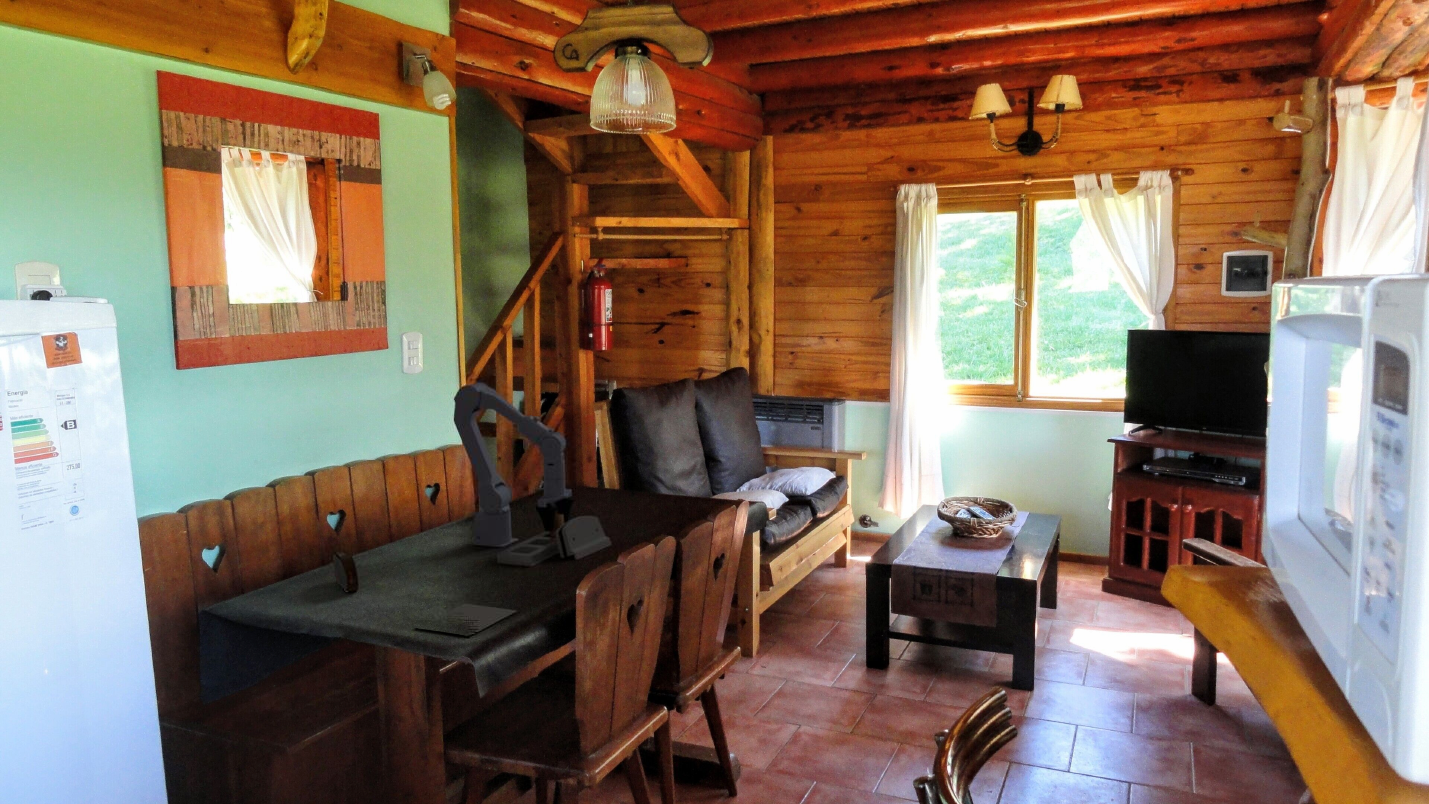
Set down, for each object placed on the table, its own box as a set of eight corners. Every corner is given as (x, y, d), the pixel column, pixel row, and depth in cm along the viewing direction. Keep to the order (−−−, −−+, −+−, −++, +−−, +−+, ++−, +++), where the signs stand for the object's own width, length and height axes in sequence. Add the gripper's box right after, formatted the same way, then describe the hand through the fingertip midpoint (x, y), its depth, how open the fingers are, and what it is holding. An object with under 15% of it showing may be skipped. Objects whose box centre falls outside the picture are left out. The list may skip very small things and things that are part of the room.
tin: (360, 594, 225) (358, 558, 224) (346, 596, 223) (343, 560, 222) (346, 578, 237) (343, 544, 236) (332, 581, 236) (330, 546, 235)
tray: (497, 563, 248) (496, 553, 247) (550, 537, 272) (550, 529, 271) (531, 566, 244) (531, 556, 244) (582, 540, 268) (582, 531, 268)
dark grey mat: (376, 625, 204) (376, 622, 204) (454, 591, 226) (454, 588, 226) (468, 639, 194) (468, 636, 194) (539, 601, 217) (539, 598, 217)
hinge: (576, 559, 249) (563, 522, 250) (562, 564, 251) (549, 527, 252) (612, 544, 264) (600, 508, 264) (598, 548, 266) (587, 513, 266)
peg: (547, 545, 264) (545, 516, 263) (554, 541, 268) (553, 512, 267) (560, 546, 263) (558, 517, 262) (567, 542, 266) (566, 513, 265)
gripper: (553, 484, 255) (555, 535, 257) (580, 474, 268) (582, 522, 270) (530, 482, 258) (532, 533, 259) (558, 472, 271) (560, 520, 273)
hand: (556, 527), depth 265 cm, fingers open, 7 cm apart
